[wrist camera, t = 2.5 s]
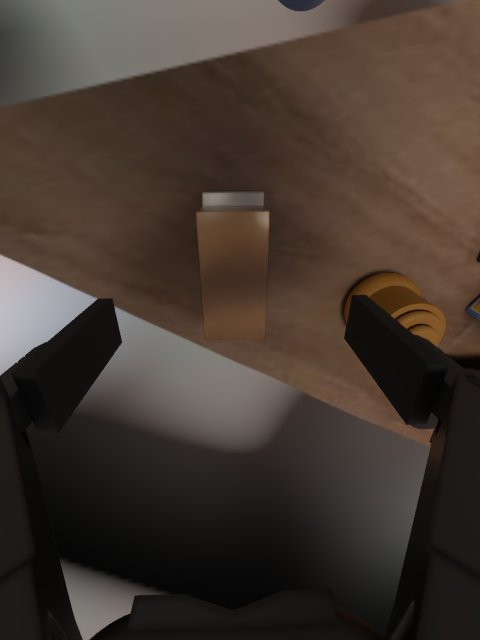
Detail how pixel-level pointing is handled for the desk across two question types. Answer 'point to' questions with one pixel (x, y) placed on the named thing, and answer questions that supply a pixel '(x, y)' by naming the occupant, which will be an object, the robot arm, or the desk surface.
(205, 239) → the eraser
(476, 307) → the ink cartridge box
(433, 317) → the ornamental finial
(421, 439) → the desk surface
